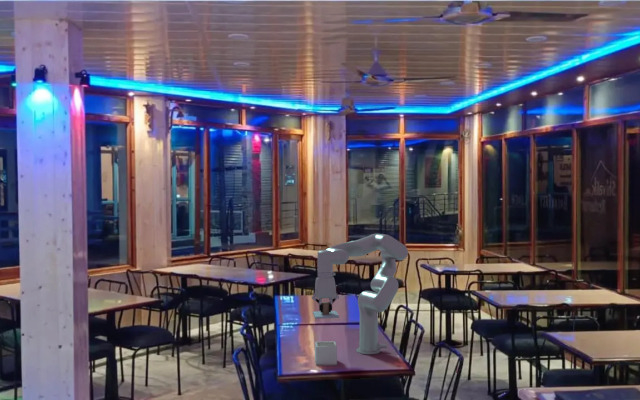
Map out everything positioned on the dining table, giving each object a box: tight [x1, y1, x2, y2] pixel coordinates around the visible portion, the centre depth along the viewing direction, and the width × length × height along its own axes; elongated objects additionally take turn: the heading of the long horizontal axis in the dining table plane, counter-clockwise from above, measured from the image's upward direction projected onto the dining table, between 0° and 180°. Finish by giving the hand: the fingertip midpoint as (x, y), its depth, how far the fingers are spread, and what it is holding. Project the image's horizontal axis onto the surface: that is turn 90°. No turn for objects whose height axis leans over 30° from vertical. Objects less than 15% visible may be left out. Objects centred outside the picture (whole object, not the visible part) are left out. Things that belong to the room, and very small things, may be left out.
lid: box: [312, 301, 340, 320], centre depth 303 cm, size 12×12×6 cm
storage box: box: [314, 340, 338, 367], centre depth 298 cm, size 10×10×9 cm
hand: (325, 311), depth 303 cm, fingers closed on lid, 3 cm apart
